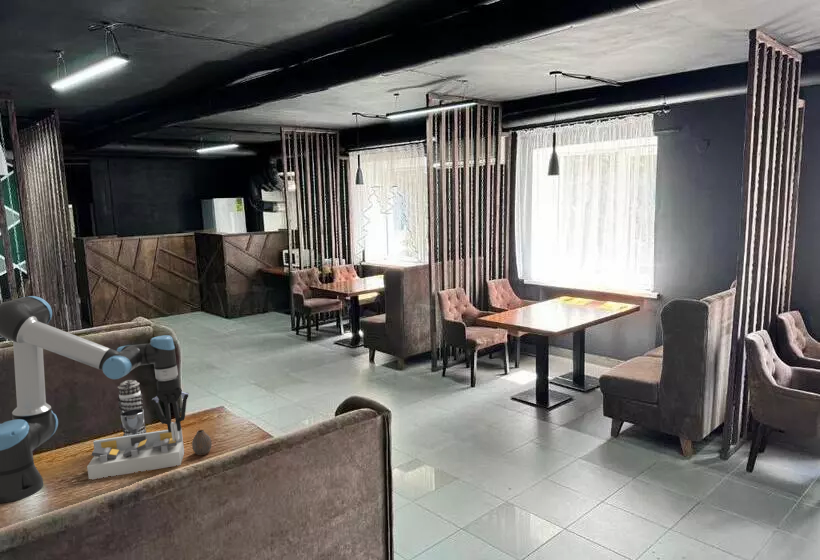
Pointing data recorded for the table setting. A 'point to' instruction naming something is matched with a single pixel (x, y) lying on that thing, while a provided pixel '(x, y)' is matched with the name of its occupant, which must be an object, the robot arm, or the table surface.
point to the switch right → (164, 443)
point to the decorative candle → (130, 400)
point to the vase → (201, 443)
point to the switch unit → (135, 455)
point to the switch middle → (136, 447)
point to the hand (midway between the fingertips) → (176, 439)
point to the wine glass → (132, 420)
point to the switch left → (105, 452)
